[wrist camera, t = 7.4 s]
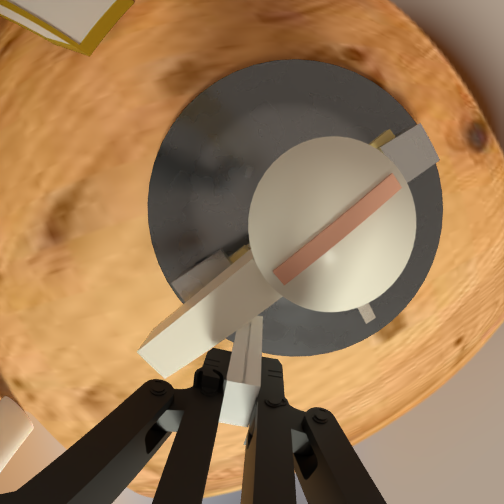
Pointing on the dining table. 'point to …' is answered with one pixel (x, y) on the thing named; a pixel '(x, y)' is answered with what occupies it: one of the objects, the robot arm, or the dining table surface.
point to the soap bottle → (67, 20)
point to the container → (12, 429)
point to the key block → (302, 246)
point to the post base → (252, 170)
